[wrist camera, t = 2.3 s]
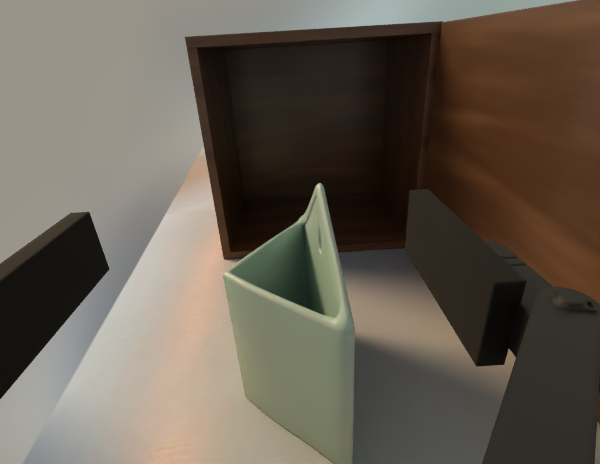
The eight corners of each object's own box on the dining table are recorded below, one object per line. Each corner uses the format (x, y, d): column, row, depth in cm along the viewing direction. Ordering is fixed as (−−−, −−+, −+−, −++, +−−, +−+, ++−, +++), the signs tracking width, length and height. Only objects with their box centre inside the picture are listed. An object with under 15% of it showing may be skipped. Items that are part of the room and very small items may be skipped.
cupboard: (418, 247, 55) (443, 21, 42) (223, 259, 55) (184, 36, 41) (383, 196, 75) (393, 31, 61) (240, 205, 75) (217, 42, 61)
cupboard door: (457, 242, 55) (494, 19, 42) (680, 413, 29) (980, -49, 15) (417, 249, 54) (441, 22, 41) (609, 432, 28) (866, -47, 14)
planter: (243, 334, 40) (215, 163, 31) (312, 324, 41) (304, 154, 32) (247, 492, 25) (195, 255, 17) (354, 470, 26) (359, 235, 17)
